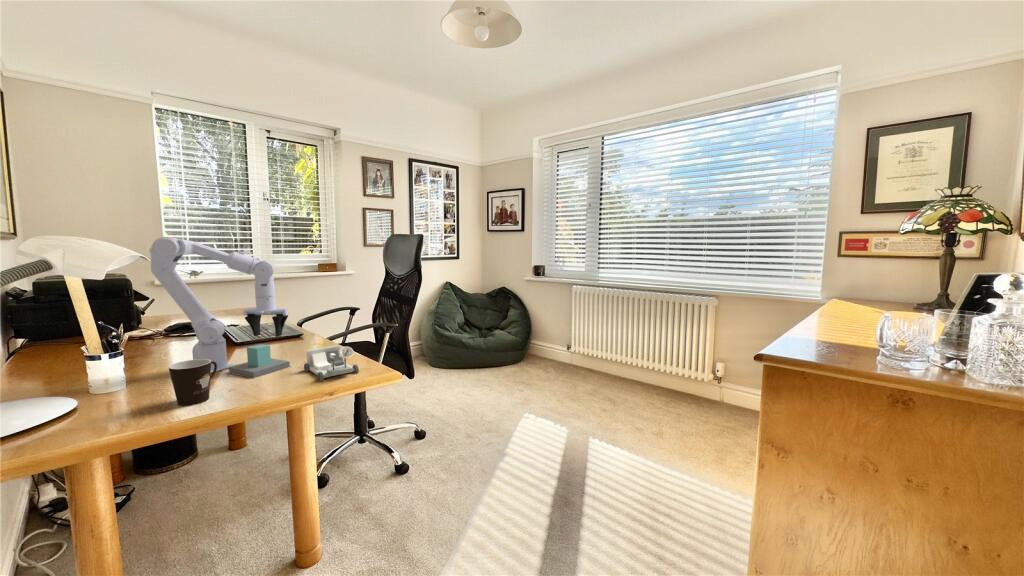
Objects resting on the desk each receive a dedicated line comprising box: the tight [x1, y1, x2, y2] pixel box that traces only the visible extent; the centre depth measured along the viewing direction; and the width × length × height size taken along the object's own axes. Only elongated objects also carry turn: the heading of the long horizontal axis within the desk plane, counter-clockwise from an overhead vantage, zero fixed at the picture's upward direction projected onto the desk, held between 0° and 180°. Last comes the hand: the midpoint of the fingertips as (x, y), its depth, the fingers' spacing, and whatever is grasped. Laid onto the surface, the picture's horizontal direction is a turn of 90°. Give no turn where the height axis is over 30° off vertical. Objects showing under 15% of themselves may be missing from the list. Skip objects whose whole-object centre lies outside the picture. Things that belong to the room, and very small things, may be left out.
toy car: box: [303, 345, 360, 382], centre depth 126 cm, size 18×10×12 cm
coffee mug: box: [168, 359, 217, 407], centre depth 104 cm, size 12×9×10 cm
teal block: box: [246, 343, 272, 367], centre depth 128 cm, size 4×4×6 cm
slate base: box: [228, 357, 291, 379], centre depth 128 cm, size 12×12×2 cm
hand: (268, 335), depth 136 cm, fingers open, 7 cm apart
